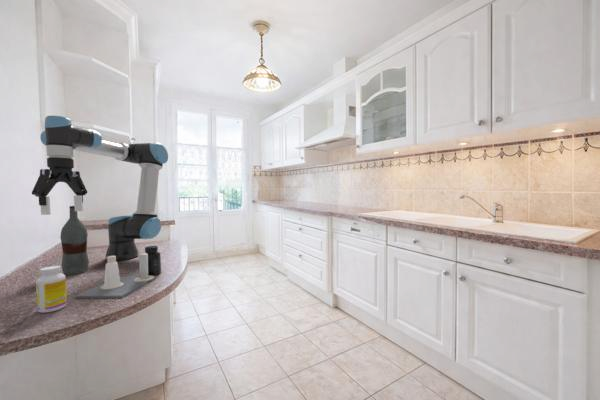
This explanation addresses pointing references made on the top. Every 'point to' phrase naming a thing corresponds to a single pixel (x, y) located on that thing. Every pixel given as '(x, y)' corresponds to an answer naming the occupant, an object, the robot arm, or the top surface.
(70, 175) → the robot arm
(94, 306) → the top surface
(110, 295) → the board
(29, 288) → the top surface
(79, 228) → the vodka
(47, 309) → the supplement bottle
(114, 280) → the pepper shaker
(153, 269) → the supplement bottle
